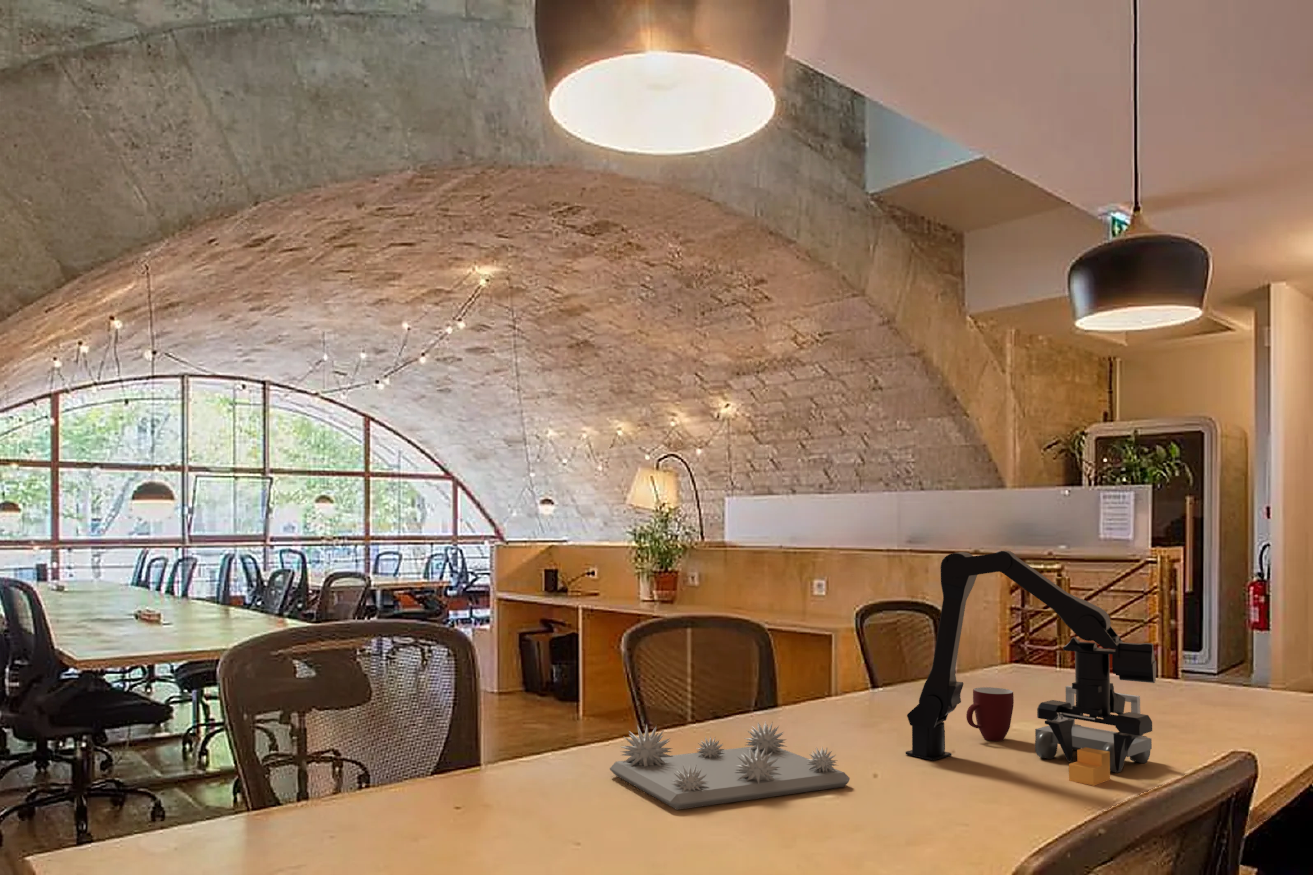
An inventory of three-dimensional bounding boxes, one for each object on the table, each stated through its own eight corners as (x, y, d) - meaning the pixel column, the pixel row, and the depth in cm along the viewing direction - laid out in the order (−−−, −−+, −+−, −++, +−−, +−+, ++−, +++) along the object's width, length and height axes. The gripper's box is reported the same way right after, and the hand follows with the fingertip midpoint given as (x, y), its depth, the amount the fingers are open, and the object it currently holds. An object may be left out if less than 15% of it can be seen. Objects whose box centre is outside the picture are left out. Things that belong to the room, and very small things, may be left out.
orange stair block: (1093, 786, 179) (1093, 757, 179) (1069, 781, 182) (1068, 752, 182) (1110, 780, 183) (1109, 751, 183) (1086, 775, 186) (1085, 747, 187)
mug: (985, 746, 207) (985, 696, 208) (956, 738, 214) (955, 689, 215) (1022, 741, 212) (1021, 692, 213) (992, 733, 219) (992, 686, 220)
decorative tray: (674, 817, 159) (674, 752, 160) (605, 777, 182) (605, 720, 183) (854, 791, 175) (854, 731, 176) (769, 757, 198) (770, 705, 199)
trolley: (1120, 776, 185) (1119, 705, 186) (1027, 757, 198) (1026, 691, 199) (1158, 762, 195) (1157, 695, 196) (1068, 745, 209) (1067, 682, 210)
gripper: (1164, 680, 183) (1166, 769, 182) (1064, 666, 197) (1065, 749, 196) (1137, 686, 176) (1138, 779, 175) (1035, 672, 190) (1036, 758, 189)
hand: (1093, 765), depth 184 cm, fingers open, 9 cm apart
